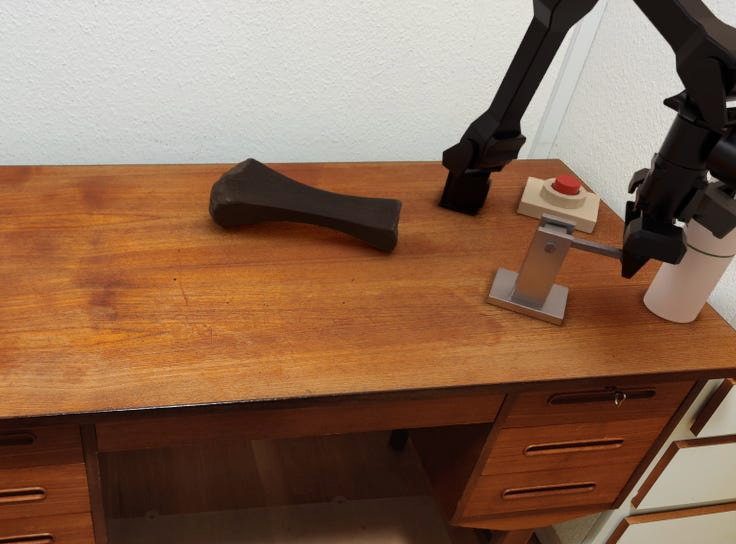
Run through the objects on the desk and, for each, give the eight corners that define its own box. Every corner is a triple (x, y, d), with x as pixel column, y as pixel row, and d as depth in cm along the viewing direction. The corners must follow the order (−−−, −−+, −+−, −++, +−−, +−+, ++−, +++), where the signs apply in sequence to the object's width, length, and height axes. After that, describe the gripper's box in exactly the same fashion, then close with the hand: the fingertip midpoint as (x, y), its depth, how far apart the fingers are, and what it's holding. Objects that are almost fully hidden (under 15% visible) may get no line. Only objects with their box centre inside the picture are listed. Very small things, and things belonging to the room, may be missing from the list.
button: (551, 192, 118) (554, 182, 117) (553, 182, 121) (557, 172, 120) (576, 199, 117) (580, 189, 116) (578, 188, 120) (582, 179, 119)
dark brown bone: (203, 232, 110) (381, 281, 110) (205, 195, 100) (401, 249, 101) (221, 173, 114) (393, 220, 114) (226, 132, 104) (414, 184, 104)
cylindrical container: (693, 299, 105) (793, 135, 88) (699, 328, 100) (807, 159, 83) (641, 286, 106) (731, 123, 90) (645, 314, 101) (741, 145, 85)
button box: (516, 212, 119) (524, 191, 117) (524, 187, 127) (532, 166, 124) (591, 233, 117) (601, 212, 114) (595, 206, 124) (605, 185, 121)
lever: (642, 265, 94) (652, 243, 92) (641, 277, 91) (652, 255, 89) (539, 239, 97) (546, 218, 95) (536, 251, 95) (543, 229, 93)
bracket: (565, 294, 103) (599, 222, 95) (559, 325, 97) (595, 252, 89) (495, 273, 105) (523, 201, 98) (486, 302, 100) (514, 228, 92)
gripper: (769, 214, 74) (694, 331, 85) (753, 146, 88) (690, 254, 98) (655, 184, 77) (596, 301, 87) (657, 123, 90) (605, 231, 101)
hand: (626, 271), depth 93 cm, fingers closed on lever, 3 cm apart
